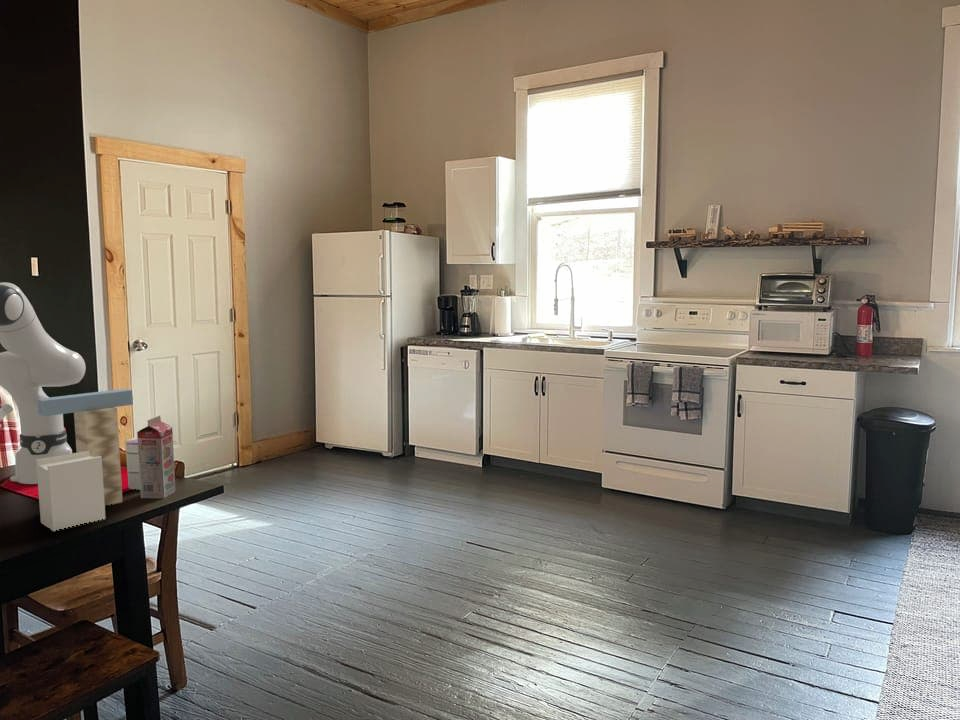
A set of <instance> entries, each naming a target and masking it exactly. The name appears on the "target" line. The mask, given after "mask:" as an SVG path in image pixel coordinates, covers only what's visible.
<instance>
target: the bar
mask: <svg viewBox="0 0 960 720" xmlns="http://www.w3.org/2000/svg"><path fill="white" fill-rule="evenodd" d="M133 399H134V398H133V390H132V389H128V388H119V389H113V390H112V389H110V390H103V391H102V390H101V391H94V392H85V393H77V394H68V395H60V396H59V395H58V396H52V397H51V396H50V398H41V399H37V400H38V414H39V415H41V416H52V415H59V414H63V415H65V414H72V413H73V414H74V412H82V411H89V410H97V409H104V408H112V407H115V408H118V407H119V408H120V407H126V406H133V405H134V401H133Z"/></svg>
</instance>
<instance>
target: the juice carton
mask: <svg viewBox="0 0 960 720" xmlns="http://www.w3.org/2000/svg"><path fill="white" fill-rule="evenodd" d="M136 433H137V434H136V435H137V436H136V437H137V438H138V455H139V474H140V490H139V491H140V499H165V497H166V498H167V497H169V496H170V495H172V494H173V493H175V492H176V480H175V479H176V475H175V473H176V472H175V456H174V434H173V433H174V432H173V426H171V425H170V424H167V423H166V422H163V421H162V418H161V415H158V416H154V417H152V418H150V419H148V420H147V426H144V427H143V428H142V429H139V430H138V431H137V432H136ZM163 491H164V493H163ZM168 495H169V496H168Z"/></svg>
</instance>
